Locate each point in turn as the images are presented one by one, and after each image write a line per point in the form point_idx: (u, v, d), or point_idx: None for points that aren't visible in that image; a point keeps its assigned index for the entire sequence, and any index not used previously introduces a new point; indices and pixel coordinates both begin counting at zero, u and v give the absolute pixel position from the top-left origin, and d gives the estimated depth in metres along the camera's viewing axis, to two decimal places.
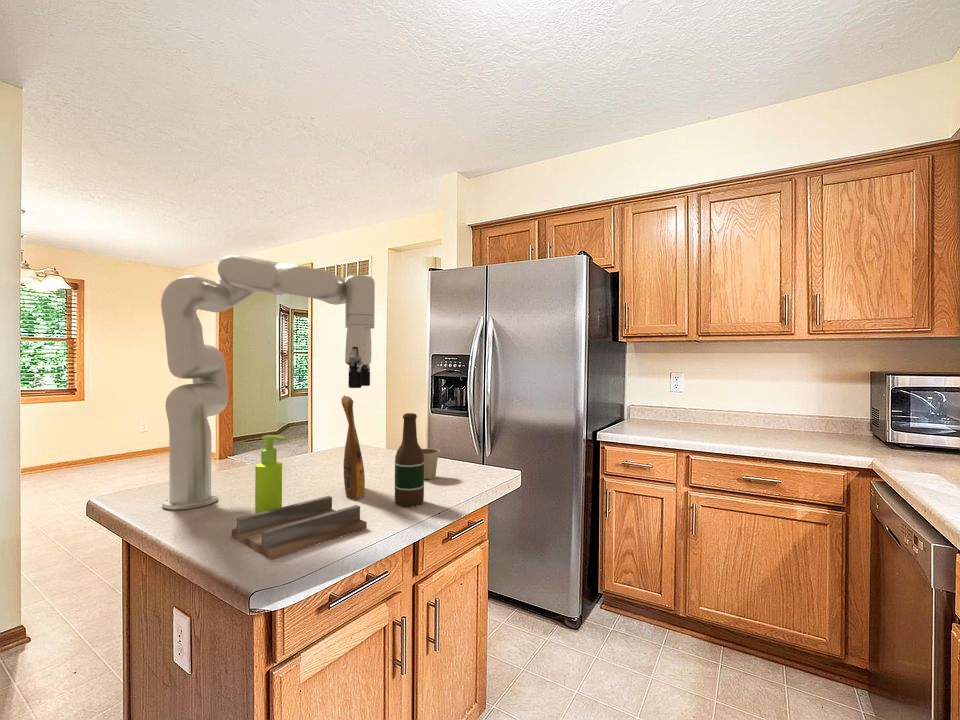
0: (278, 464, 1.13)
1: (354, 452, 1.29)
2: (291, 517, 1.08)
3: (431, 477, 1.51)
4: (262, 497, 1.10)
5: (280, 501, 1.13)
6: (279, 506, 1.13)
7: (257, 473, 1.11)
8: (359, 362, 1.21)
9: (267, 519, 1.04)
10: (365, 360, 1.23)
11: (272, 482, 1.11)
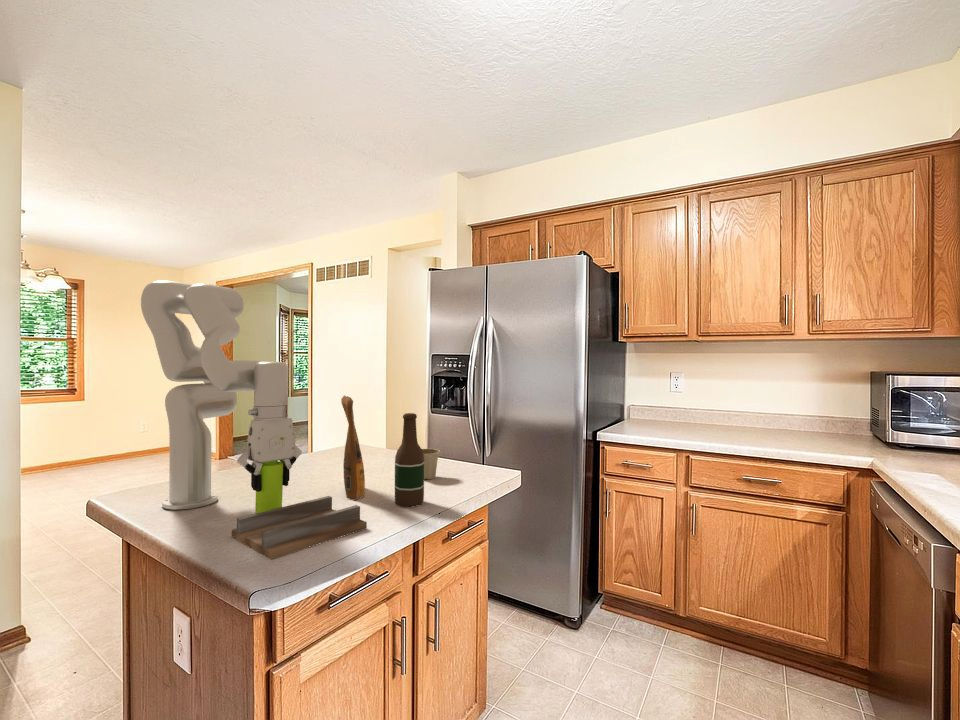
0: (279, 464, 1.13)
1: (354, 452, 1.29)
2: (291, 517, 1.08)
3: (431, 477, 1.51)
4: (263, 497, 1.11)
5: (280, 501, 1.13)
6: (279, 506, 1.13)
7: None
8: None
9: (267, 519, 1.04)
10: None
11: (273, 481, 1.11)
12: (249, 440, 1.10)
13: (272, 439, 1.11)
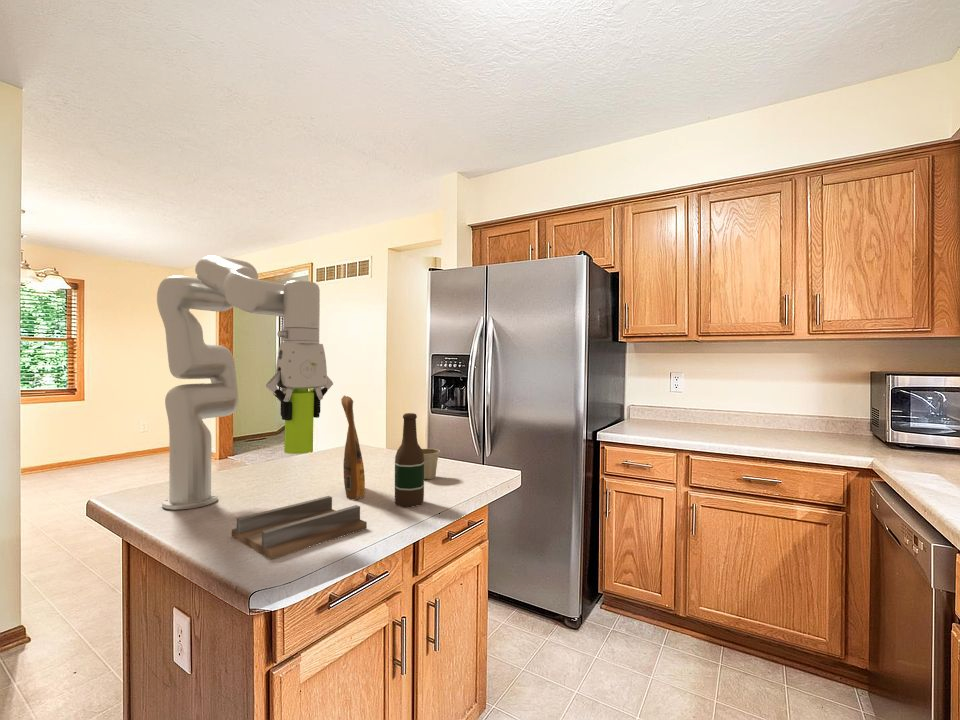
0: (310, 392, 1.04)
1: (354, 452, 1.29)
2: (291, 517, 1.08)
3: (431, 477, 1.51)
4: (293, 426, 1.02)
5: (311, 433, 1.04)
6: (310, 438, 1.04)
7: None
8: None
9: (267, 519, 1.04)
10: None
11: (304, 410, 1.02)
12: (278, 364, 1.01)
13: (303, 364, 1.02)
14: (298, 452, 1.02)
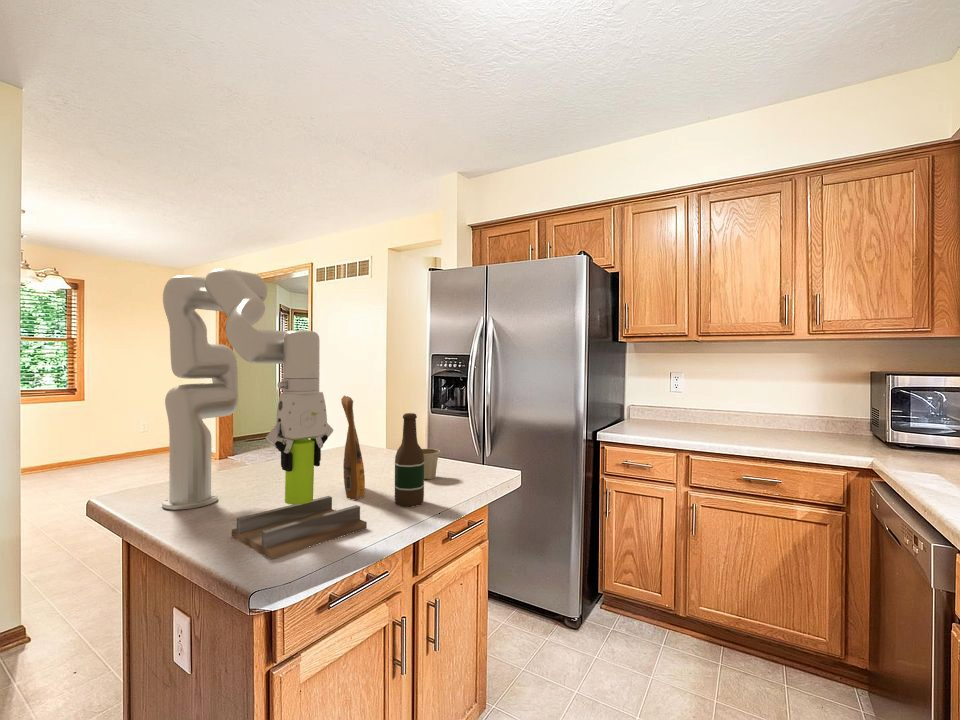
0: (311, 441, 1.04)
1: (354, 452, 1.29)
2: (291, 517, 1.08)
3: (431, 477, 1.51)
4: (293, 477, 1.02)
5: (312, 482, 1.04)
6: (311, 487, 1.04)
7: None
8: None
9: (267, 519, 1.04)
10: None
11: (305, 460, 1.02)
12: (278, 415, 1.01)
13: (303, 414, 1.02)
14: (299, 503, 1.02)
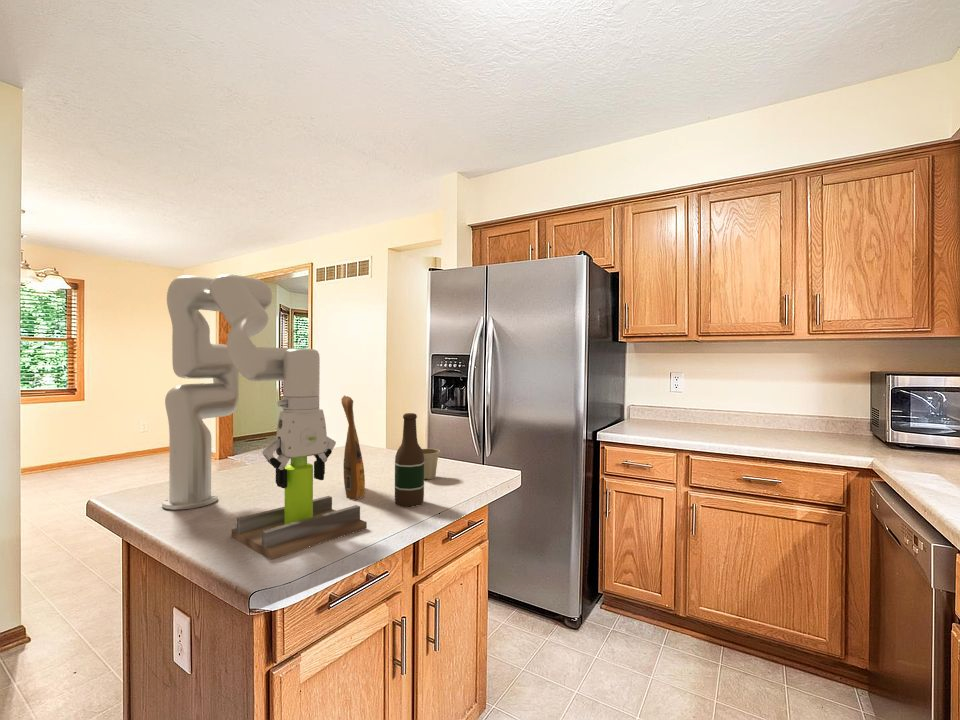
0: (309, 466, 1.04)
1: (354, 452, 1.29)
2: None
3: (431, 477, 1.51)
4: (293, 503, 1.02)
5: (311, 506, 1.04)
6: (310, 511, 1.04)
7: (287, 476, 1.02)
8: None
9: (267, 519, 1.04)
10: None
11: (304, 486, 1.02)
12: (278, 434, 1.01)
13: (303, 433, 1.02)
14: None
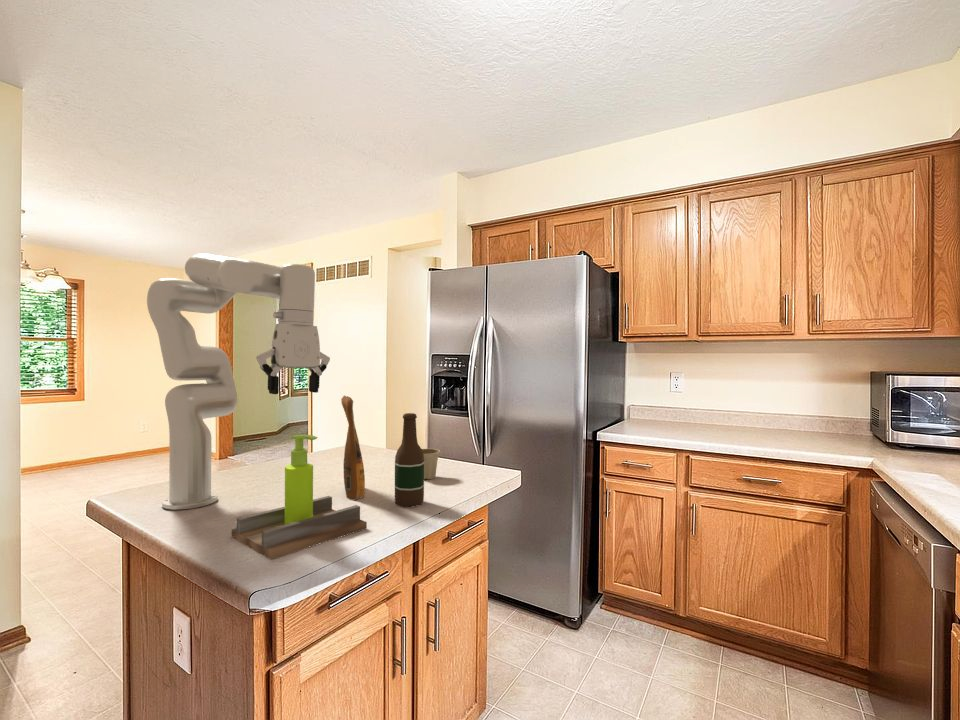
0: (309, 466, 1.04)
1: (354, 452, 1.29)
2: None
3: (431, 477, 1.51)
4: (293, 502, 1.02)
5: (311, 506, 1.05)
6: (310, 512, 1.04)
7: (287, 476, 1.02)
8: None
9: (267, 519, 1.04)
10: None
11: (304, 485, 1.03)
12: (273, 344, 1.05)
13: (297, 344, 1.06)
14: None
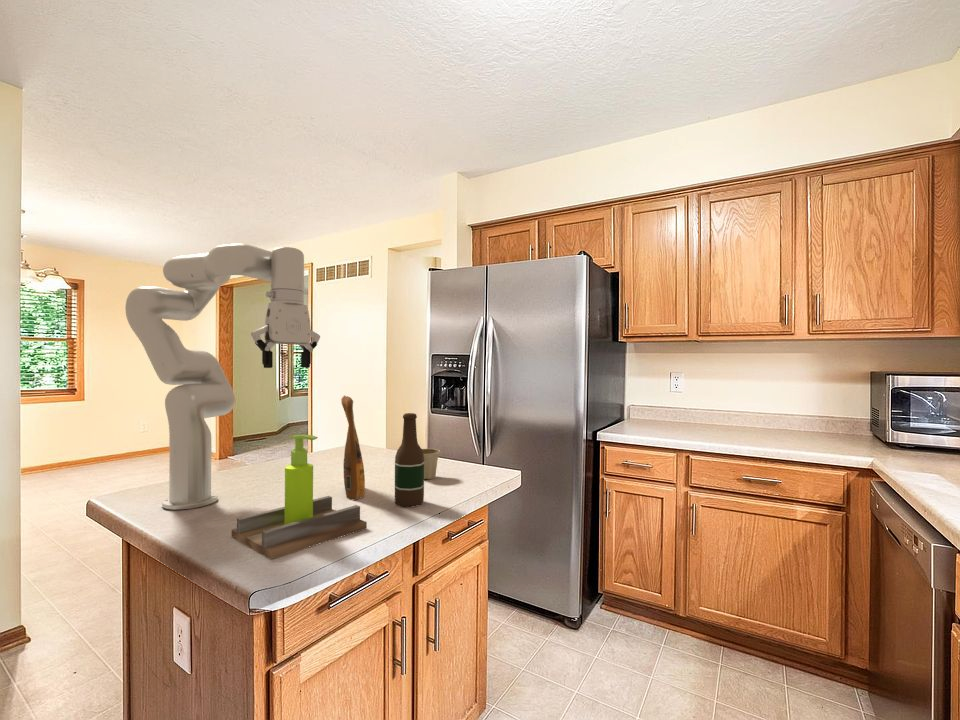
0: (309, 466, 1.04)
1: (354, 452, 1.29)
2: None
3: (431, 477, 1.51)
4: (293, 502, 1.02)
5: (311, 506, 1.05)
6: (310, 512, 1.04)
7: (287, 476, 1.02)
8: None
9: (267, 519, 1.04)
10: None
11: (304, 485, 1.03)
12: (266, 321, 1.13)
13: (289, 321, 1.14)
14: None
